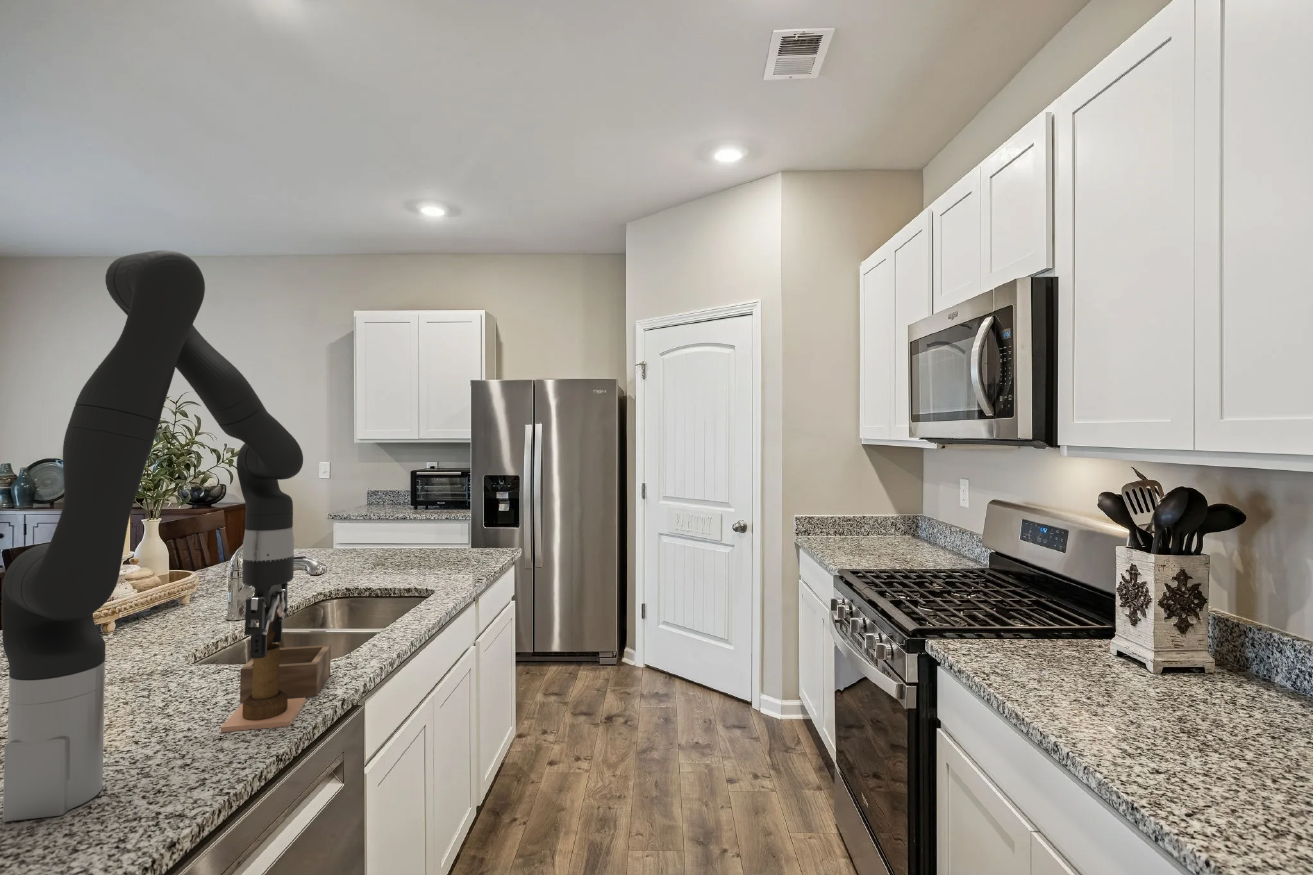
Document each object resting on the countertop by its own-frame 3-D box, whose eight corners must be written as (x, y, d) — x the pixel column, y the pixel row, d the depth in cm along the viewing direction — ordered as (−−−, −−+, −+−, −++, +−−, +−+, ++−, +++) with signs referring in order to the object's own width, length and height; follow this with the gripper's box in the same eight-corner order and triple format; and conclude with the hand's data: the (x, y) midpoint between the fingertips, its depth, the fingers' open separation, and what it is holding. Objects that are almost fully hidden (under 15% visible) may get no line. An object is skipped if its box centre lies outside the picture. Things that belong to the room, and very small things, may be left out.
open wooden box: (316, 696, 119) (316, 663, 119) (239, 702, 115) (240, 669, 115) (330, 674, 130) (330, 644, 130) (260, 679, 126) (261, 649, 126)
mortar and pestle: (266, 722, 106) (268, 612, 106) (232, 718, 107) (234, 610, 107) (296, 706, 112) (298, 603, 112) (264, 702, 114) (266, 600, 114)
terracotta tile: (289, 726, 106) (289, 721, 106) (220, 732, 104) (220, 727, 104) (305, 702, 116) (305, 697, 116) (242, 707, 113) (243, 702, 114)
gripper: (280, 561, 104) (278, 661, 104) (304, 547, 118) (302, 635, 118) (227, 563, 102) (225, 665, 102) (257, 548, 116) (256, 638, 116)
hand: (266, 649), depth 110 cm, fingers open, 8 cm apart
